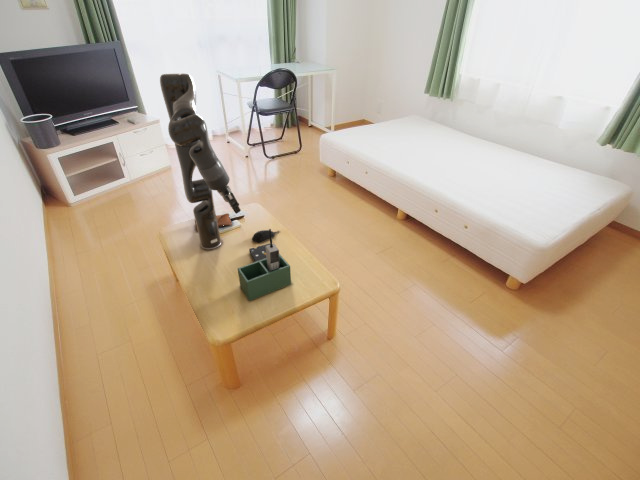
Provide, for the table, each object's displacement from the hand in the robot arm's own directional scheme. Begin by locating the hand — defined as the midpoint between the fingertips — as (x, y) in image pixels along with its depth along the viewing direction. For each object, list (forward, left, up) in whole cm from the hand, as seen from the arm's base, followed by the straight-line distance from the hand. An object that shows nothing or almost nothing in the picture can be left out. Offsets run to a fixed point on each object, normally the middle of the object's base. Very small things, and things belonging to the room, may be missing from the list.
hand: (232, 205), depth 123 cm
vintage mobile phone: (+10, +10, -34) cm, 36 cm away
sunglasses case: (-46, +2, -35) cm, 58 cm away
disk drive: (-6, +13, -35) cm, 37 cm away
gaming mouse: (-22, +21, -35) cm, 46 cm away
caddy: (+10, +6, -34) cm, 36 cm away
